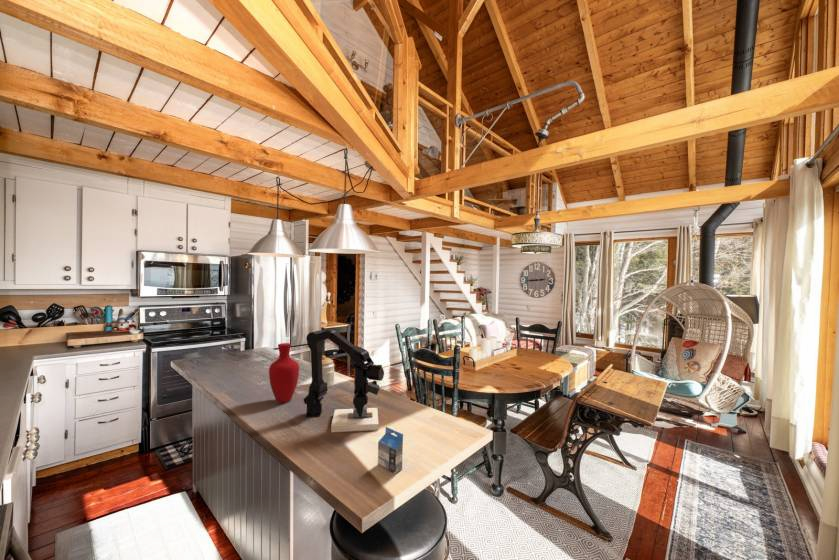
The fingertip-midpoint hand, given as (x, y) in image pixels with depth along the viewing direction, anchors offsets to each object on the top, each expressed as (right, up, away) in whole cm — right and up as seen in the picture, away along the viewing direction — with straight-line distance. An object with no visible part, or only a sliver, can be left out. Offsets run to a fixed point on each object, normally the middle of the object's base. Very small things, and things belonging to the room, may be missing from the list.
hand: (360, 412), depth 155 cm
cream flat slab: (-2, -4, 0) cm, 5 cm away
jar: (-31, -3, +51) cm, 60 cm away
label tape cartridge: (+17, -6, -36) cm, 40 cm away
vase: (-44, -4, +24) cm, 50 cm away
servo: (0, -4, 0) cm, 4 cm away
